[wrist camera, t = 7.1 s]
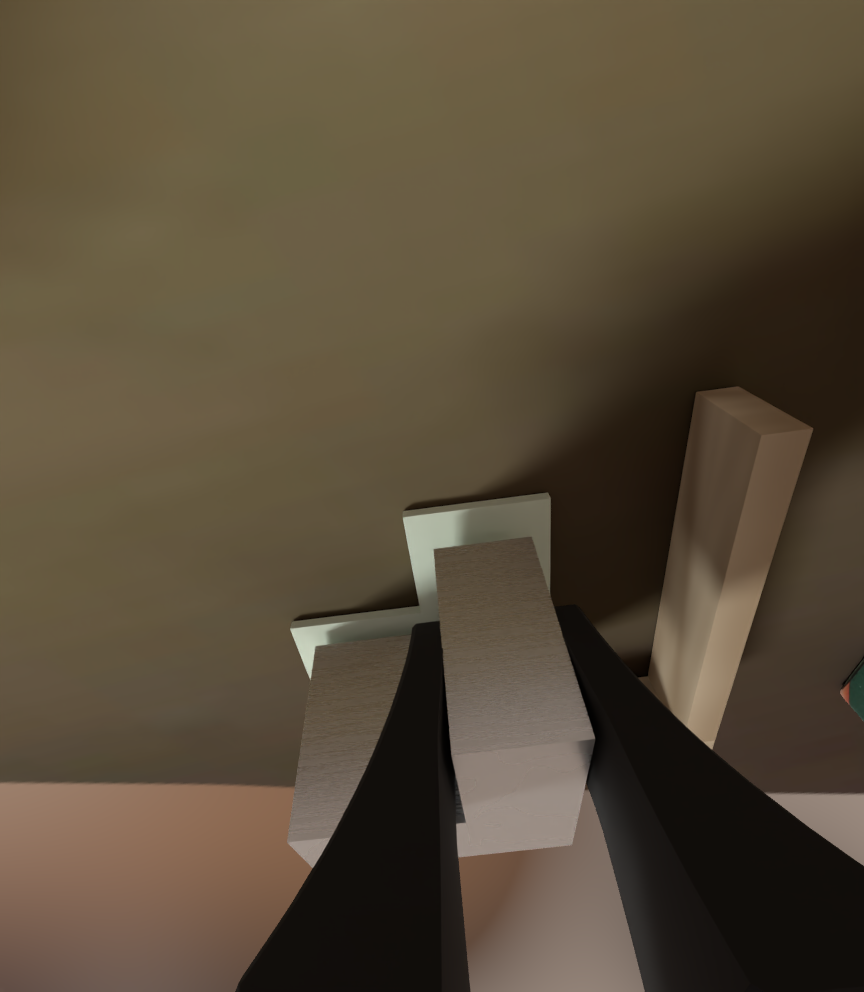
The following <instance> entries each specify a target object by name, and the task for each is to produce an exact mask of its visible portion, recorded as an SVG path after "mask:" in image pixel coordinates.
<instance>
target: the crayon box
mask: <svg viewBox="0 0 864 992" xmlns="http://www.w3.org/2000/svg"><path fill="white" fill-rule="evenodd" d="M840 694H841V695H842V697H843V698H844V699H845V700H846V701H847V703H848V704H849V705H850V706H851V707H852V709H853V710H854V711H855V712H856V713H857V714H858V715H859V716H860V718H861V719H862V720H863V721H864V659H863V660H862V661H861V663H860V664H859V665H858V667H857V668H856V669H855V670H854V672H853V673H852V674H851V676H850V677H849V679H848V680H847V681H846V683H845V684H844V685H843V686H842V688H841V690H840Z"/></svg>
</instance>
